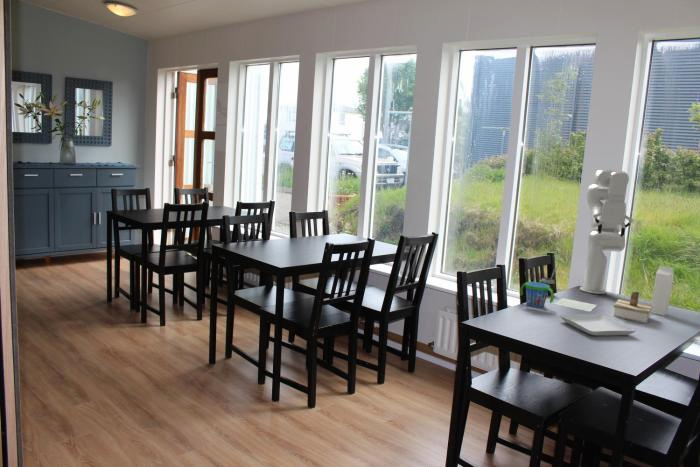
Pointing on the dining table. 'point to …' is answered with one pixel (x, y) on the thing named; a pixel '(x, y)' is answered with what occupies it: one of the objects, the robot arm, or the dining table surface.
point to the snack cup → (536, 293)
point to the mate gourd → (549, 282)
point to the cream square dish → (632, 315)
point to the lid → (633, 304)
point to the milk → (662, 290)
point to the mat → (575, 304)
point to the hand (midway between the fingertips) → (610, 234)
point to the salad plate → (597, 324)
